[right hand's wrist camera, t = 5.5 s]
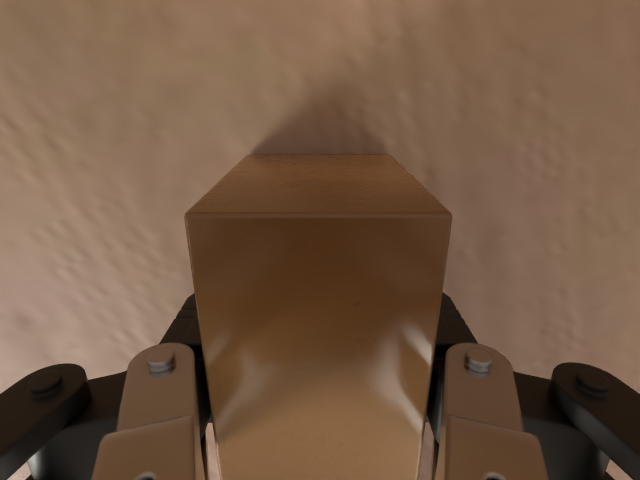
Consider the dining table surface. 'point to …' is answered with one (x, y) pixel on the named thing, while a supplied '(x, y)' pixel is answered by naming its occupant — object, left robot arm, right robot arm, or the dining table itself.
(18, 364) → the dining table surface
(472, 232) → the dining table surface
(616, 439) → the right robot arm
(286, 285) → the post
